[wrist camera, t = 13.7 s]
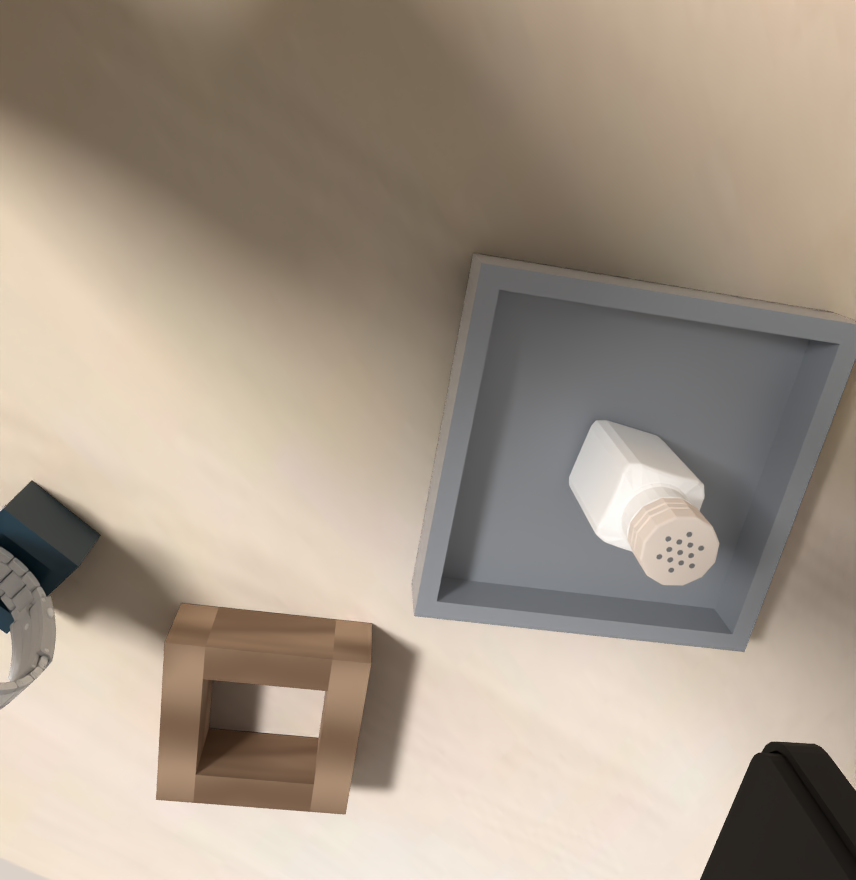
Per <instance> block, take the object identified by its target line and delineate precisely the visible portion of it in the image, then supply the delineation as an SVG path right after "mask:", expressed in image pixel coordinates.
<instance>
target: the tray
mask: <svg viewBox="0 0 856 880" xmlns="http://www.w3.org/2000/svg"><path fill="white" fill-rule="evenodd" d="M855 359H856V321H854V320H851V319H849V318H846V317H843V316H841V315H838V314H836V313H833V312H829V311H823V310H817V309H810V308H804V307H798V306H792V305H786V304H780V303H774V302H768V301H762V300H756V299H750V298H744V297H738V296H732V295H726V294H720V293H713V292H707V291H701V290H695V289H689V288H683V287H677V286H671V285H665V284H659V283H653V282H647V281H641V280H635V279H629V278H623V277H616V276H610V275H604V274H598V273H592V272H586V271H580V270H574V269H568V268H562V267H556V266H550V265H544V264H538V263H532V262H526V261H519V260H513V259H507V258H501V257H495V256H489V255H483V254H477V253H473V257H472V262H471V268H470V273H469V279H468V284H467V289H466V295H465V300H464V306H463V311H462V316H461V322H460V327H459V333H458V338H457V343H456V349H455V354H454V359H453V365H452V370H451V376H450V381H449V386H448V392H447V397H446V403H445V408H444V413H443V419H442V424H441V429H440V435H439V440H438V446H437V451H436V456H435V462H434V467H433V473H432V478H431V483H430V489H429V494H428V500H427V505H426V510H425V516H424V521H423V526H422V532H421V537H420V543H419V548H418V553H417V559H416V564H415V570H414V575H413V580H412V594H413V608H414V616H418V617H427V618H437V619H446V620H455V621H464V622H473V623H483V624H492V625H501V626H510V627H520V628H529V629H538V630H547V631H557V632H566V633H575V634H584V635H593V636H603V637H612V638H621V639H630V640H640V641H649V642H658V643H667V644H676V645H686V646H695V647H704V648H713V649H723V650H732V651H741V652H745V649H746V646H747V644H748V641H749V638H750V636H751V633H752V630H753V628H754V625H755V623H756V620H757V617H758V615H759V612H760V609H761V607H762V604H763V601H764V599H765V596H766V594H767V591H768V588H769V586H770V583H771V580H772V578H773V575H774V573H775V570H776V567H777V565H778V562H779V559H780V557H781V554H782V551H783V549H784V546H785V544H786V541H787V538H788V536H789V533H790V530H791V528H792V525H793V523H794V520H795V517H796V515H797V512H798V509H799V507H800V504H801V501H802V499H803V496H804V494H805V491H806V488H807V486H808V483H809V480H810V478H811V475H812V473H813V470H814V467H815V465H816V462H817V459H818V457H819V454H820V451H821V449H822V446H823V444H824V441H825V438H826V436H827V433H828V430H829V428H830V425H831V422H832V420H833V417H834V415H835V412H836V409H837V407H838V404H839V401H840V399H841V396H842V394H843V391H844V388H845V386H846V383H847V380H848V378H849V375H850V372H851V370H852V367H853V365H854V362H855ZM596 420H608V421H611V422H614V423H618V424H621V425H624V426H627V427H631V428H634V429H637V430H641V431H644V432H647V433H650V434H654V435H657V436H658V437H659V438H660V439H662V440H663V441H664V442H665V443H666V444H667V446H668V447H669V448H670V449H671V450H672V451H673V452H674V453H675V454H676V455H677V456H678V457H679V458H680V460H681V461H682V462H683V463H684V464H685V465H686V466H687V467H688V468H689V469H690V470H691V471H692V472H693V474H694V475H695V476H696V477H697V478H698V479H699V480H700V481H701V482H702V483H703V484H704V494H705V497H704V500H703V503H702V505H701V508H700V512H701V514H702V515H703V516H704V517H705V519H707V521H708V522H709V523H710V524H711V525H712V526H713V528H714V531H715V533H716V536H717V538H718V541H719V548H718V552H717V557H716V561H715V563H714V564H713V565H712V566H711V567H710V569H709V570H708V571H707V572H706V573H705V574H704V575H703V577H701V578H699V579H697V580H694V581H692V582H690V583H688V584H685V585H683V586H681V585H662V584H660V583H658V582H657V581H655V580H653V579H652V578H650V577H648V576H647V575H646V573H645V572H644V570H643V569H642V567H641V565H640V564H639V562H638V560H637V559H636V557H635V555H634V554H633V552H632V551H629V550H625V549H622V548H619V547H617V546H614V545H611V544H608V543H606V542H604V541H603V540H601V539H600V538H599V537H598V536H597V535H596V534H595V532H594V530H593V528H592V527H591V525H590V523H589V521H588V519H587V517H586V516H585V514H584V512H583V510H582V508H581V506H580V504H579V503H578V501H577V499H576V497H575V495H574V493H573V492H572V490H571V488H570V486H569V476H570V474H571V471H572V469H573V467H574V464H575V462H576V460H577V457H578V455H579V453H580V450H581V448H582V446H583V444H584V441H585V439H586V437H587V434H588V432H589V430H590V427H591V425H592V424H593V423H594V422H595V421H596Z"/></svg>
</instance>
